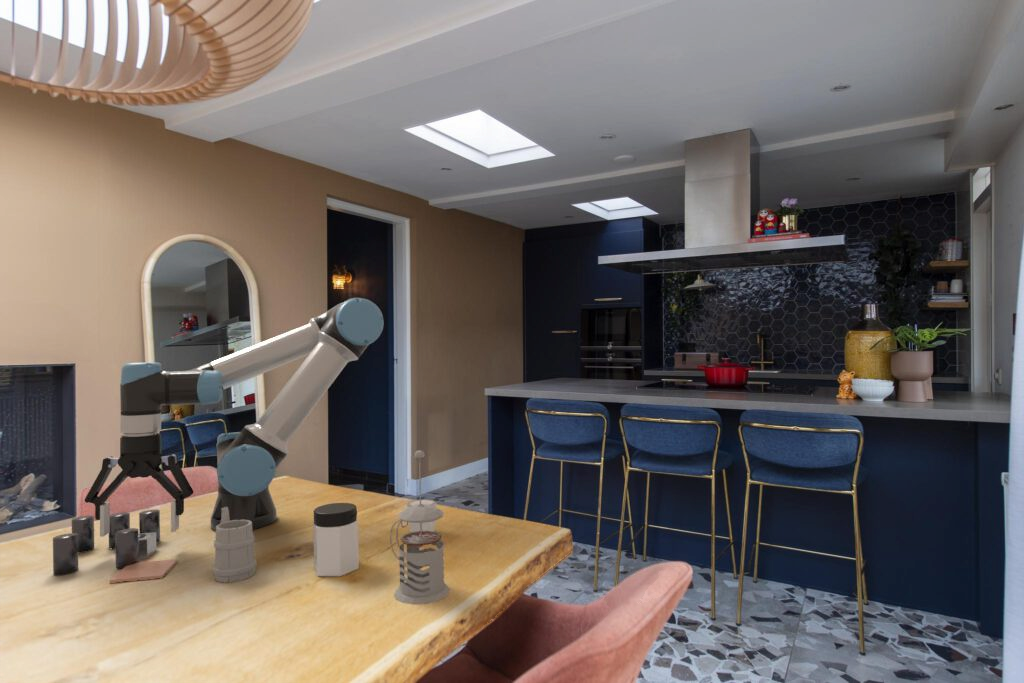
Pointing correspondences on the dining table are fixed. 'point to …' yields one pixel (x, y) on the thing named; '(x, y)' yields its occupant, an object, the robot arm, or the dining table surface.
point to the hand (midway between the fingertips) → (140, 532)
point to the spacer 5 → (150, 522)
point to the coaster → (144, 571)
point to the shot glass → (425, 526)
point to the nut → (147, 544)
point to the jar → (335, 539)
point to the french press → (420, 555)
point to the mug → (233, 549)
